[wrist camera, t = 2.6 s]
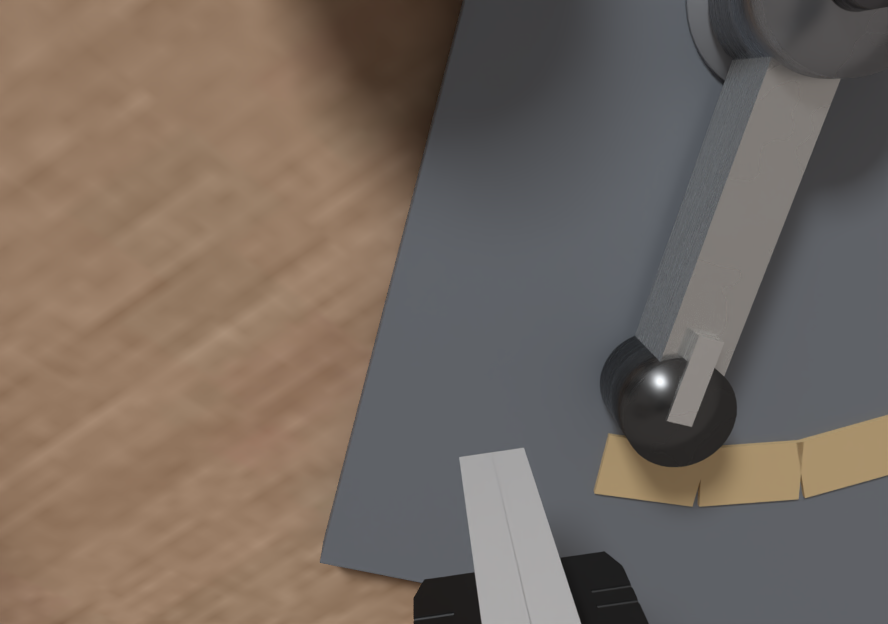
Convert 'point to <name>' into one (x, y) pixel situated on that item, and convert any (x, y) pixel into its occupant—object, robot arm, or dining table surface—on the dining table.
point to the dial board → (625, 327)
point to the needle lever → (734, 215)
